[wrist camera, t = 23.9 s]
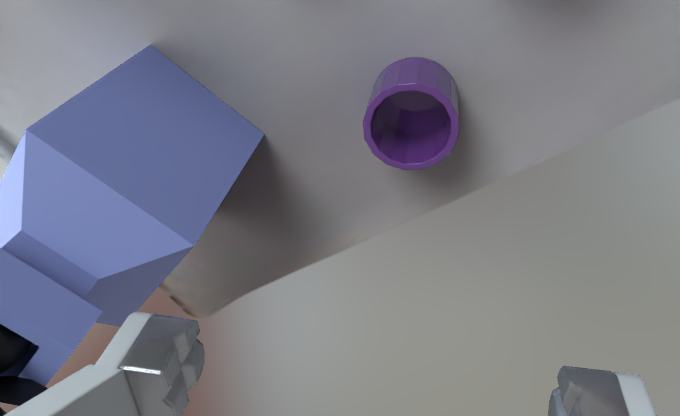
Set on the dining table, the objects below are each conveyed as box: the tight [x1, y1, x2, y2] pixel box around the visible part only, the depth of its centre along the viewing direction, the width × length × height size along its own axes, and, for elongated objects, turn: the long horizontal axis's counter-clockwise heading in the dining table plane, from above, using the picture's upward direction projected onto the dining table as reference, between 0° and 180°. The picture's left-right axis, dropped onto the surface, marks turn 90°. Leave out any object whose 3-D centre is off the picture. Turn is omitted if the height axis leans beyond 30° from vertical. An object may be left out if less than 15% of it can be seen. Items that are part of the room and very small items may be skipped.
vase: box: [0, 45, 264, 416], centre depth 30 cm, size 14×12×35 cm
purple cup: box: [363, 57, 459, 170], centre depth 37 cm, size 6×6×5 cm
